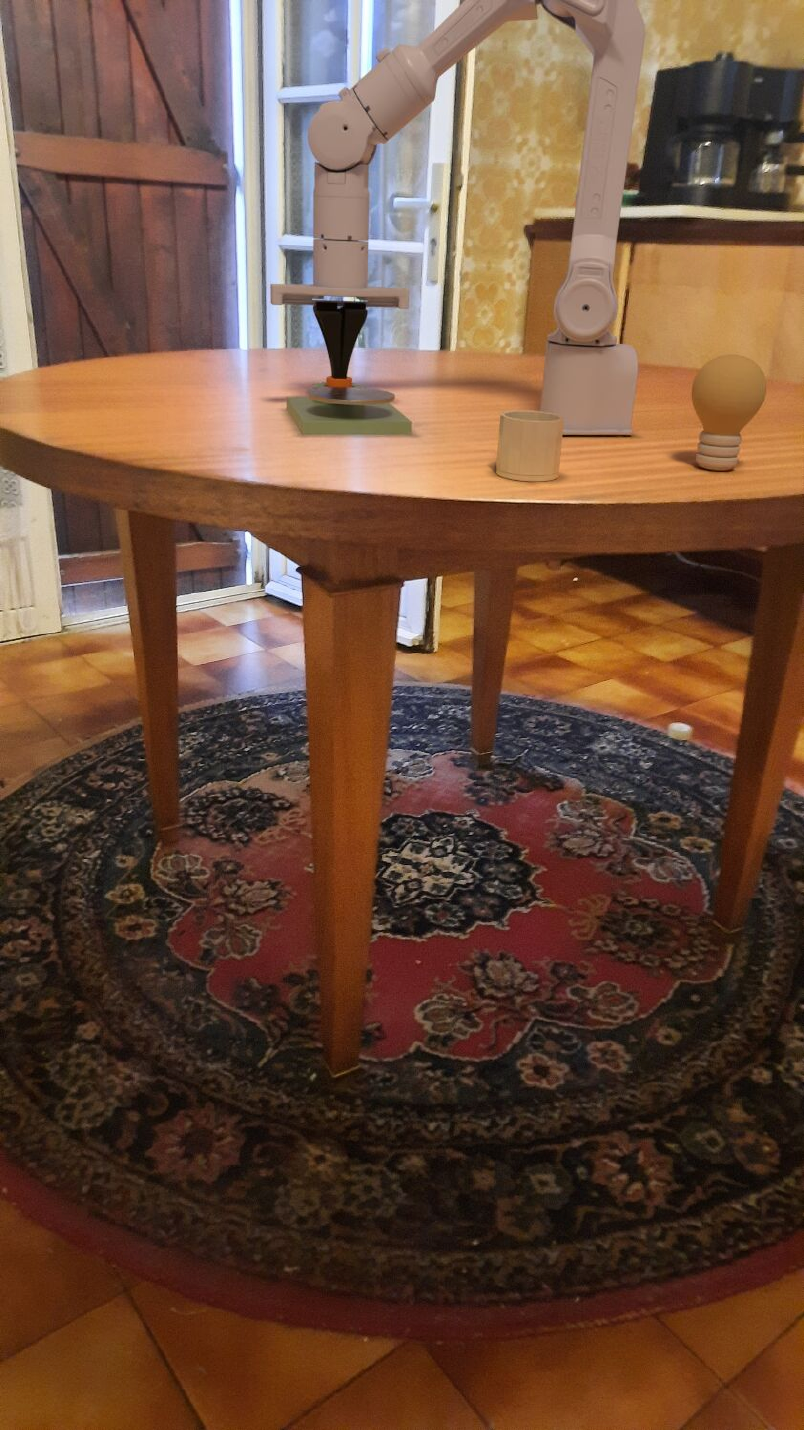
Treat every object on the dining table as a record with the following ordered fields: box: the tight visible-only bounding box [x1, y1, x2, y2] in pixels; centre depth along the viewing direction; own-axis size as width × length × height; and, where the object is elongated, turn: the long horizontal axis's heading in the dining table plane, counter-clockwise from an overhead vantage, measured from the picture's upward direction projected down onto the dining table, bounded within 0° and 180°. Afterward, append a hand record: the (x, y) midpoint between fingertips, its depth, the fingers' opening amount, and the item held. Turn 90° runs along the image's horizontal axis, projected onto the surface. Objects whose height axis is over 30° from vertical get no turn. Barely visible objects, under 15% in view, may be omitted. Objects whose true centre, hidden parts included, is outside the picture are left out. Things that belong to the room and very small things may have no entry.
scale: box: [286, 381, 413, 436], centre depth 108 cm, size 15×11×3 cm
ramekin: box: [495, 409, 564, 483], centre depth 88 cm, size 5×5×5 cm
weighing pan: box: [306, 387, 396, 405], centre depth 104 cm, size 9×9×1 cm
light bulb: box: [691, 354, 767, 472], centre depth 92 cm, size 6×6×10 cm
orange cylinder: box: [325, 375, 353, 387], centre depth 111 cm, size 3×3×2 cm
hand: (339, 378), depth 111 cm, fingers closed, pressing on orange cylinder
